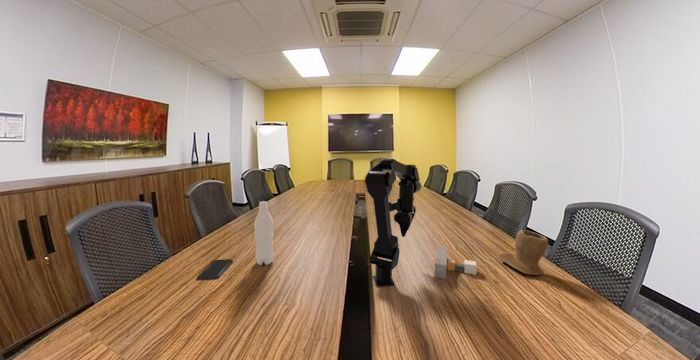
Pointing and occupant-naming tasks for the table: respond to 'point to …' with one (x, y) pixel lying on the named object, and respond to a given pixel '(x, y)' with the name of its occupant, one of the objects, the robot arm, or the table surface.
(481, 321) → the table surface
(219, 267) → the phone
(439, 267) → the housing
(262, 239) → the water bottle
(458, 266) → the plug
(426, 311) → the table surface
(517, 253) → the brown hat
